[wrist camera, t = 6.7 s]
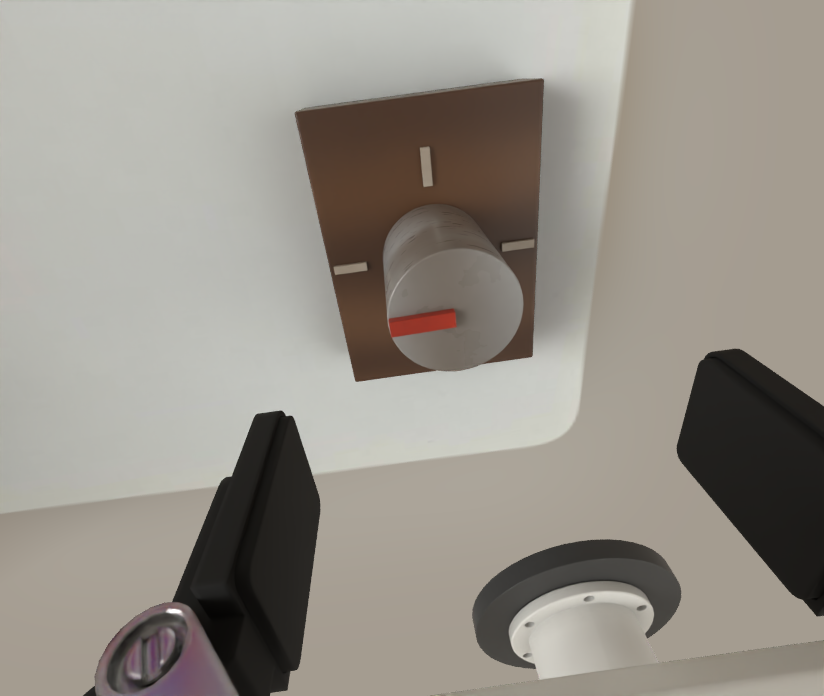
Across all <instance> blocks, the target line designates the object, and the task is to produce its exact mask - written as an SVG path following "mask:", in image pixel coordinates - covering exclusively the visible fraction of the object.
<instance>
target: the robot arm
mask: <svg viewBox="0 0 824 696" xmlns="http://www.w3.org/2000/svg"><path fill="white" fill-rule="evenodd" d="M677 454H678V457H679V459H680V461H681V462H682V464H683V465H684V466H685V467H686V468H687V470H688V471H689V472H690V473H691V474H692V476H693V477H694V478H695V479H696V480H697V482H698V483H699V484H700V485H701V486H702V487H703V489H704V490H705V491H706V492H707V493H708V495H709V496H710V497H711V498H712V499H713V501H714V502H715V503H716V504H717V506H718V507H719V508H720V509H721V510H722V511H723V513H724V514H725V515H726V516H727V518H728V519H729V520H730V521H731V522H732V523H733V525H734V526H735V527H736V528H737V529H738V531H739V532H740V533H741V534H742V535H743V537H744V538H745V539H746V540H747V541H748V543H749V544H750V545H751V546H752V547H753V549H754V550H755V551H756V552H757V553H758V555H759V556H760V557H761V558H762V559H763V561H764V562H765V563H766V564H767V565H768V567H769V568H770V569H771V570H772V571H773V573H774V574H775V575H776V576H777V577H778V579H779V580H780V581H781V582H782V583H783V584H784V586H785V587H786V588H787V589H788V590H789V592H791V594H792V595H794V596H795V597H797V598H799V599H803V601H804V602H805V603H806V604H807V605H808V606H809V608H810V609H811V610H812V611H813V612H814V614H815V615H816V616H824V406H822V405H821V404H820V403H818V402H817V401H815V400H814V399H812V398H811V397H809V396H808V395H807V394H805V393H804V392H802V391H801V390H799V389H798V388H796V387H795V386H794V385H792V384H790V383H789V382H788V381H786V380H785V379H783V378H782V377H781V376H779V375H778V374H776V373H775V372H773V371H772V370H770V369H769V368H767V367H766V366H765V365H763V364H762V363H760V362H759V361H757V360H756V359H755V358H753V357H751V356H750V355H749V354H747V353H746V352H744V351H742V350H740V349H730V350H723V351H715V352H710V353H708V354H707V355H706V356H705V358H704V360H702V361H700V363H699V365H698V368H697V372H696V376H695V379H694V383H693V387H692V391H691V395H690V399H689V402H688V406H687V410H686V413H685V417H684V421H683V425H682V429H681V433H680V436H679V440H678V444H677ZM319 517H320V498H319V494H318V491H317V488H316V485H315V482H314V479H313V476H312V473H311V469H310V466H309V463H308V460H307V457H306V454H305V451H304V448H303V445H302V442H301V439H300V436H299V432H298V429H297V426H296V423H295V420H294V418H293V417H292V416H285V413H284V412H283V411H275V412H267V413H260V414H257V415H255V417H254V419H253V422H252V424H251V427H250V430H249V432H248V435H247V438H246V440H245V443H244V446H243V448H242V451H241V454H240V456H239V459H238V462H237V464H236V467H235V469H234V472H233V475H232V477H226V478H224V479H223V480H222V481H221V483H220V485H219V487H218V490H217V492H216V494H215V497H214V499H213V502H212V504H211V507H210V509H209V511H208V514H207V516H206V519H205V521H204V524H203V527H202V529H201V532H200V534H199V536H198V539H197V541H196V544H195V546H194V549H193V551H192V554H191V556H190V559H189V561H188V564H187V566H186V569H185V571H184V574H183V576H182V579H181V581H180V584H179V586H178V589H177V591H176V594H175V596H174V598H173V601H172V602H168V603H162V604H159V605H156V606H154V607H151V608H149V609H147V610H145V611H144V612H142V613H140V614H139V615H137V616H135V617H134V618H133V619H132V620H131V621H129V622H128V623H127V624H126V625H125V626H124V627H123V628H121V629H120V631H119V632H118V633H117V634H116V635H115V637H114V638H113V639H112V640H111V641H110V643H109V644H108V646H107V647H106V649H105V651H104V653H103V655H102V657H101V659H100V660H99V663H98V667H97V670H96V674H95V686H94V687H93V688H91V689H90V690H89V691H88V692H87V693H86V694H84V695H83V696H270V693H272V692H279V691H286V690H287V689H288V683H289V676H290V671H294V670H297V669H298V667H299V664H300V659H301V651H302V644H303V637H304V629H305V622H306V614H307V607H308V599H309V592H310V584H311V576H312V569H313V561H314V554H315V547H316V539H317V531H318V524H319ZM653 618H654V611H653V607H652V605H651V604H650V602H649V600H648V598H647V596H646V595H645V594H644V593H643V592H642V591H641V590H640V589H638V588H636V587H634V586H632V585H629V584H626V583H622V582H617V581H589V582H581V583H576V584H572V585H567V586H564V587H561V588H558V589H555V590H552V591H550V592H548V593H546V594H544V595H541V596H540V597H538V598H536V599H535V600H533V601H531V602H530V603H528V604H527V605H526V606H525V607H523V608H522V609H521V610H520V611H519V612H518V613H517V614H516V616H515V617H514V618H513V620H512V622H511V624H510V627H509V637H510V642H511V646H512V648H513V651H514V652H515V653H516V654H517V655H518V656H519V657H521V658H522V659H524V660H525V661H528V662H531V663H534V664H535V666H536V670H537V673H538V677H539V680H535V681H528V682H521V683H514V684H507V685H500V686H493V687H487V688H480V689H473V690H467V691H459V692H452V693H445V694H438V695H431V696H824V640H823V641H815V642H808V643H801V644H794V645H786V646H778V647H771V648H763V649H756V650H748V651H742V652H734V653H726V654H720V655H712V656H705V657H698V658H691V659H684V660H677V661H669V662H662V663H659V661H658V659H657V657H656V655H655V653H654V651H653V649H652V648H651V645H650V643H649V641H648V639H647V637H646V635H645V633H646V632H647V631H648V629H649V628H650V626H651V624H652V622H653Z"/></svg>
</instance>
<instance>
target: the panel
mask: <svg viewBox="0 0 824 696" xmlns="http://www.w3.org/2000/svg"><path fill="white" fill-rule="evenodd" d="M543 89H544V80H543V79H517V80H509V81H502V82H494V83H487V84H479V85H472V86H465V87H457V88H450V89H442V90H435V91H427V92H420V93H413V94H405V95H398V96H390V97H383V98H375V99H368V100H360V101H353V102H346V103H338V104H331V105H323V106H316V107H308V108H304V109H301V110H299V111H296V112H295V117H296V122H297V126H298V130H299V135H300V139H301V144H302V148H303V152H304V157H305V161H306V166H307V170H308V175H309V179H310V183H311V188H312V192H313V197H314V201H315V205H316V210H317V214H318V219H319V223H320V227H321V232H322V236H323V241H324V245H325V249H326V254H327V258H328V263H329V267H330V272H331V276H332V280H333V285H334V289H335V294H336V298H337V302H338V307H339V311H340V316H341V320H342V324H343V329H344V333H345V338H346V342H347V346H348V351H349V355H350V360H351V364H352V368H353V373H354V377H355V381H356V382H359V381H366V380H373V379H380V378H387V377H394V376H401V375H408V374H415V373H422V372H429V371H436V370H433V369H429V368H426V367H423V366H421V365H419V364H417V363H415V362H414V361H412V360H411V359H409V358H408V357H407V356H406V355H404V354H403V353H402V352H401V350H400V349H399V348H398V347H397V345H396V344H395V342H394V341H393V338H392V337H391V334H390V331H389V327H388V320H387V308H386V294H385V281H384V267H383V249H384V244H385V241H386V238H387V236H388V234H389V232H390V230H391V229H392V227H393V226H394V224H395V223H396V222H397V221H398V220H399V219H400V218H401V217H402V216H404V215H405V214H406V213H408V212H410V211H411V210H413V209H415V208H418V207H421V206H425V205H429V204H444V205H450V206H453V207H456V208H458V209H460V210H462V211H464V212H465V213H467V214H468V215H469V216H470V217H471V218H472V219H473V220H474V221H475V222H476V223H477V225H478V226H479V227H480V229H481V230H482V231H483V233H484V234H485V235H486V237H487V238H488V239H489V241H490V242H491V243H492V245H493V246H494V247H495V249H496V250H497V251H498V253H499V254H500V255H501V257H502V258H503V259H504V261H505V262H506V263H507V265H508V266H509V267H510V269H511V270H512V271H513V273H514V274H515V276H516V278H517V279H518V281H519V284H520V286H521V290H522V294H523V313H522V318H521V322H520V324H519V327H518V329H517V331H516V333H515V335H514V337H513V338H512V340H511V341H510V342H509V343H508V345H507V346H506V347H505V348H504V349H503V350H502V351H501V352H500V353H499V354H497V355H496V356H495V357H493V358H492V359H490V360H488V361H487V362H485V363H483V364H486V363H493V362H500V361H507V360H514V359H521V358H528V357H532V356H533V332H534V308H535V283H536V259H537V235H538V210H539V186H540V162H541V137H542V113H543Z"/></svg>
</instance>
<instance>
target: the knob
mask: <svg viewBox="0 0 824 696" xmlns="http://www.w3.org/2000/svg"><path fill="white" fill-rule="evenodd" d="M383 267H384V281H385V294H386V308H387V320H388V327H389V331H390V334H391V337H392V338H393V341H394V342H395V344H396V345H397V347H398V348H399V349H400V350H401V352H402V353H403V354H404V355H406V356H407V357H408V358H409V359H411V360H412V361H414V362H415V363H417V364H419V365H421V366H423V367H426V368H429V369H433V370H438V371H460V370H465V369H470V368H473V367H476V366H478V365H481V364H483V363H485V362H487V361H488V360H490V359H492V358H493V357H495V356H496V355H497V354H499V353H500V352H501V351H502V350H503V349H504V348H505V347H506V346H507V345H508V343H509V342H510V341H511V340H512V338H513V337H514V335H515V333H516V331H517V329H518V327H519V324H520V322H521V318H522V313H523V294H522V290H521V286H520V284H519V281H518V279H517V278H516V276H515V274H514V273H513V271H512V270H511V269H510V267H509V266H508V265H507V263H506V262H505V261H504V259H503V258H502V257H501V255H500V254H499V253H498V251H497V250H496V249H495V247H494V246H493V245H492V243H491V242H490V241H489V239H488V238H487V237H486V235H485V234H484V233H483V231H482V230H481V229H480V227H479V226H478V225H477V223H476V222H475V221H474V220H473V219H472V218H471V217H470V216H469V215H468V214H467V213H465V212H464V211H462V210H460V209H458V208H456V207H453V206H450V205H444V204H429V205H425V206H421V207H418V208H415V209H413V210H411V211H410V212H408V213H406V214H405V215H404V216H402V217H401V218H400V219H399V220H398V221H397V222H396V223H395V224H394V226H393V227H392V229H391V230H390V232H389V234H388V236H387V238H386V241H385V244H384V249H383Z"/></svg>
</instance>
